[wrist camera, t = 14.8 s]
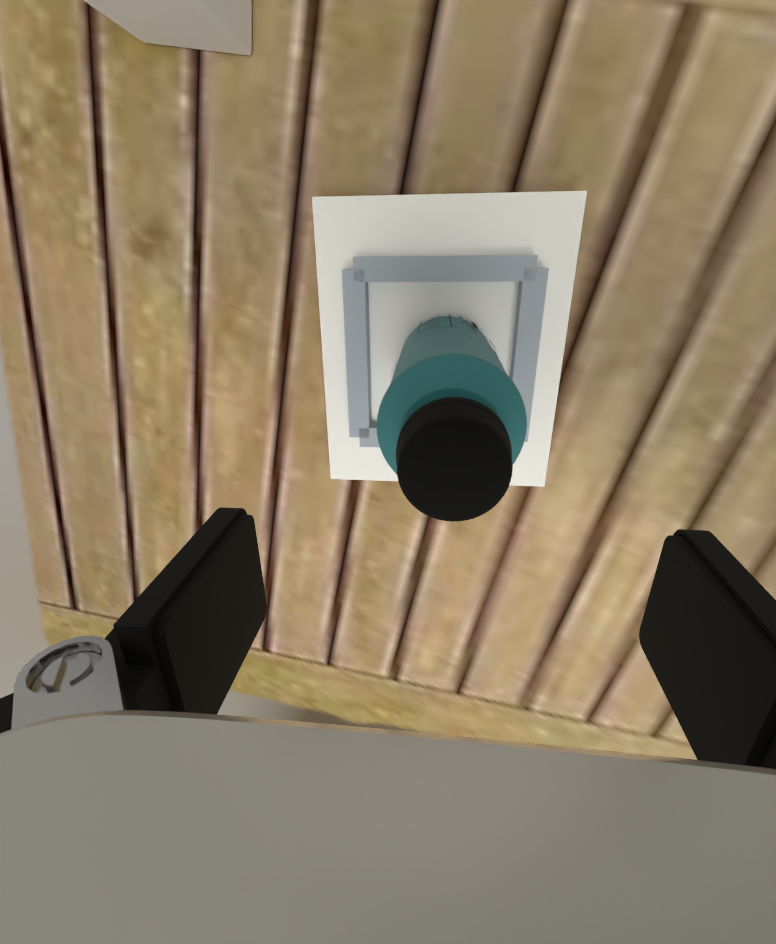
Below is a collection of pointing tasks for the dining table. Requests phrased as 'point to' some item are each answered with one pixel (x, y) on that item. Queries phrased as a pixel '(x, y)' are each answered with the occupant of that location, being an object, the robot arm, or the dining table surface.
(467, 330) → the beverage bottle
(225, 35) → the milk carton
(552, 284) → the display stand
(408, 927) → the robot arm
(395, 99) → the dining table surface
